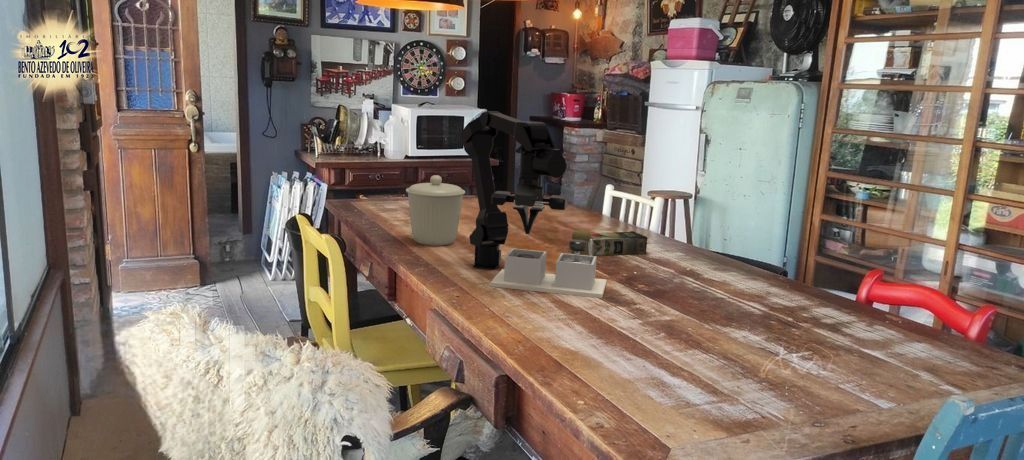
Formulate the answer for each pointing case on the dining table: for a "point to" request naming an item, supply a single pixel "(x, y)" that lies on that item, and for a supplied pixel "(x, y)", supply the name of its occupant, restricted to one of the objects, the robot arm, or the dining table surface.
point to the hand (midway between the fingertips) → (527, 233)
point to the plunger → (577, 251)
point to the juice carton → (617, 243)
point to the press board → (549, 275)
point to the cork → (582, 236)
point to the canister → (434, 211)
